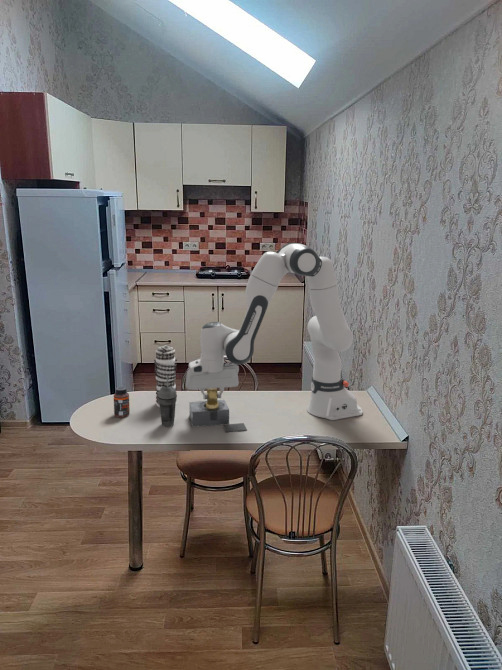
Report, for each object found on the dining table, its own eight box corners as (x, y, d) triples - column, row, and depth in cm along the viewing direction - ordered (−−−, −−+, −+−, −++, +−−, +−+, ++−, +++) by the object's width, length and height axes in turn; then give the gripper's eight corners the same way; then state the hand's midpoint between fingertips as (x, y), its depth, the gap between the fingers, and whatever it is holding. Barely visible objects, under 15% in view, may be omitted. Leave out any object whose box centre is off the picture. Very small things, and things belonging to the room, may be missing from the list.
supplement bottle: (124, 419, 203) (123, 391, 200) (111, 416, 205) (109, 389, 202) (132, 413, 209) (131, 386, 206) (119, 411, 210) (118, 384, 207)
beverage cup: (175, 419, 204) (174, 370, 199) (179, 427, 197) (178, 377, 192) (156, 421, 201) (155, 372, 196) (160, 429, 195) (159, 379, 190)
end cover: (217, 409, 206) (217, 386, 204) (219, 414, 202) (219, 391, 199) (205, 410, 205) (204, 387, 203) (206, 415, 201) (206, 392, 198)
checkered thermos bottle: (157, 399, 223) (156, 343, 216) (179, 400, 223) (178, 344, 216) (153, 408, 214) (151, 349, 208) (175, 408, 214) (174, 350, 207)
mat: (243, 424, 201) (243, 423, 201) (247, 430, 196) (247, 429, 195) (223, 425, 199) (223, 424, 199) (226, 432, 194) (226, 431, 194)
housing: (224, 413, 210) (224, 399, 209) (229, 424, 201) (229, 409, 199) (189, 416, 207) (189, 402, 206) (192, 426, 198) (192, 412, 196)
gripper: (237, 360, 204) (236, 393, 207) (184, 363, 199) (185, 397, 203) (240, 365, 198) (240, 399, 201) (186, 368, 193) (187, 403, 197)
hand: (212, 398), depth 202 cm, fingers closed on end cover, 4 cm apart
